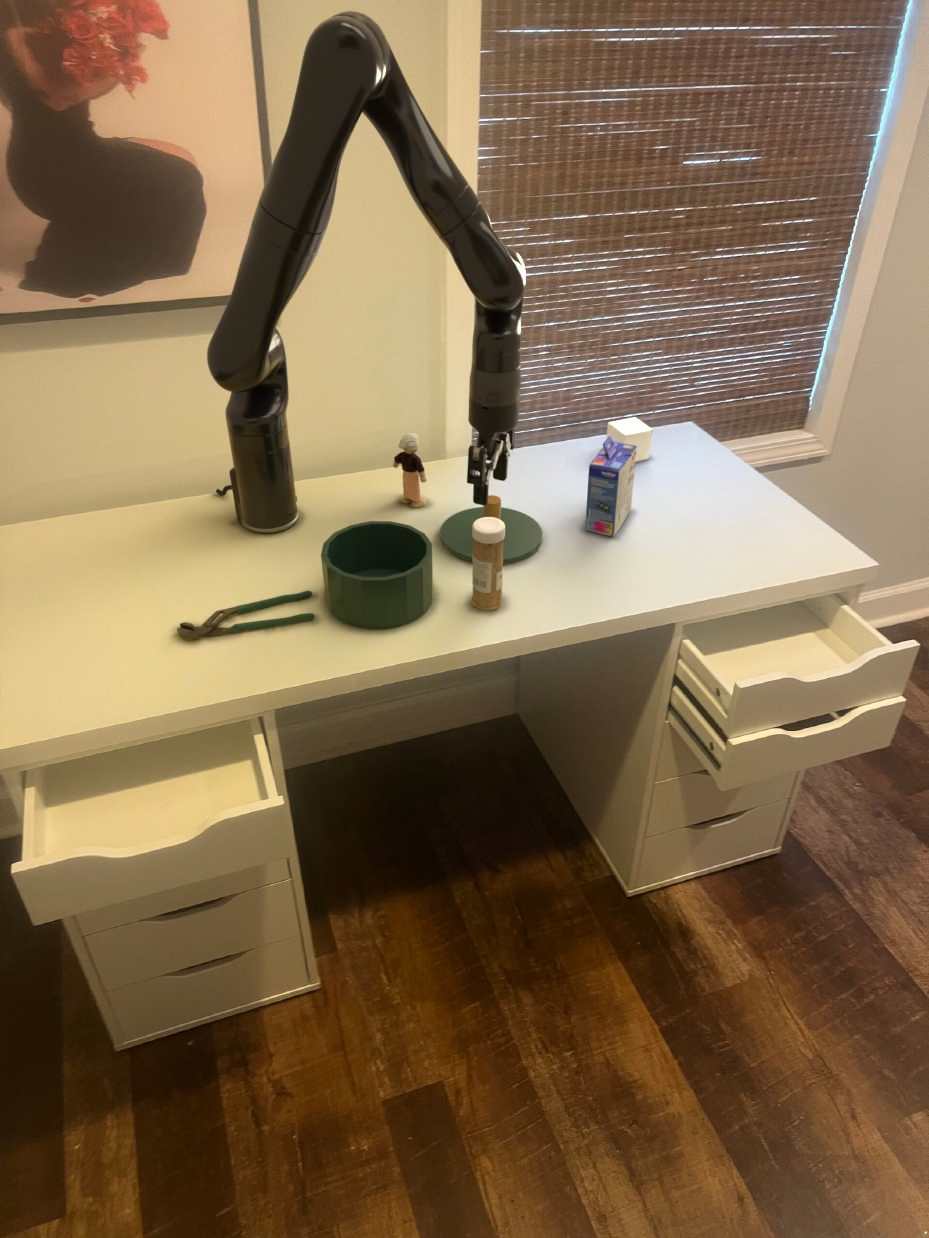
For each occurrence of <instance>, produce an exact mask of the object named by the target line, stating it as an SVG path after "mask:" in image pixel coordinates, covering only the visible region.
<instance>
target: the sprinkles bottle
mask: <svg viewBox="0 0 929 1238" xmlns="http://www.w3.org/2000/svg"><path fill="white" fill-rule="evenodd" d="M472 536H473V541H474V542H473V561H472V575H471V576H472V579H471V582H472V597H471V604H472V606H474V607H475V608H477V609H479V610H481V611H486V612H488V611H494V610H497V609H498V608H500V607H501V606H502V604H503V595H502V594H503V582H504V581H503V578H504V577H503V575H504V563H503V540H504V537H505V524H504V522H503V521H501V520H500V519H498V518H494V517H483V518H479V519H477V520H476V521H475V522H474V523H473V526H472Z"/></svg>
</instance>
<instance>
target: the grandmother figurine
mask: <svg viewBox="0 0 929 1238" xmlns="http://www.w3.org/2000/svg"><path fill="white" fill-rule="evenodd" d="M398 448H400V450H403V451H400V452H399V453H398V454H396V455H395V456H394V457H393V459H394V460H393V463H392V467H393V468H394V469H399V467H400V465H401V469H402V489H403V498H402V499H401V503H403V504H409V503H410V506H411V507H412V508H421V507H425V506H426V505H427V502H426V501H427V500H425V499H424V498H423V497H421V495H422V494H421V487H420V482H421V483H423V484H424V483H426V482H427V477H426V472H425V468H424V464H423V462H422V460H421V458H420V457H419V456H418V455H417V454H416V453H417V451H418V449H419V437H418V435H417V434H416V433H414V432H408V433H406V434H404V435H403V436H402V437H401V439H400V440H399V443H398Z"/></svg>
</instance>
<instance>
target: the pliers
mask: <svg viewBox="0 0 929 1238" xmlns="http://www.w3.org/2000/svg"><path fill="white" fill-rule="evenodd" d="M311 596H313V592H312V591H311V590H305V591H302V592H298V593H291V594H290V593H289V594H283V595H278V596H274V597H271V598H267V599H262V600H257V601H253V602H249V603H245V604H244V603H243V604H240V605H236V606H233V607H228V608H223V609H219V610H216V611H214V613H212V615H210V616H209V617H208V618H207V619H206V620H205V621H204V622H203V623H202V624H201V625H200V626H195V625H194V624H193V623H190V622H187V621H183V622H180V623H179V626H180V627H177V628H176V631H177V634H178V635H179V637H181V638H182V639H185V640H188V641H194V640H197V639H198V638H201V637H213V636H218V635H219V636H220V635H225V634H235V633H239V632H245V631H252V630H253V631H254V630H259V629H265V628H272V627H279V626H286V625H291V624H295V623H298V622H303V621H313V620H315V617H316V615H315V614H314V613H313V612H305V613H299V614H295V615H291V616H286V617H279V618H271V619H262V620H254V621H247V622H239V623H234V624H232V626H230V627H221V626H220V624H221V623H222V622H223V621H225V619H228V618H229V617H231V616H233V615H242V614H245V613H249V612H253V611H257V610H261V609H264V608H269V607H271V606H275V605H279V604H283V603H287V602H295V601H300V600H305V599H307V598H310V597H311ZM219 616H220V617H219Z"/></svg>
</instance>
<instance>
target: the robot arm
mask: <svg viewBox="0 0 929 1238" xmlns="http://www.w3.org/2000/svg"><path fill="white" fill-rule="evenodd" d="M386 37H387V36H386V35H385V33H384V31H383V30H382V28H381V26H380V25H379V24H378V23H377V21H375V20H374V19H373V18H372V17H370V16H368V15H367V14H365V13H363V12H360V11H356V10H355V11H354V10H353V11H352V10H346V11H341V12H339V13H336V14H334V15H332V16H330V17H329V18H327V19H325V20H323V21H321V22H320V23H319V24H318V25H317V26H316V27H315V28H314V29H313V30H312V32H311V33H310V35H309V37H308V39H307V42H306V44H305V48H304V51H303V55H302V60H301V64H300V70H299V73H298V74H299V75H298V79H297V85H296V90H295V94H294V98H293V103H292V107H291V111H290V115H289V120H288V123H287V127H286V130H285V132H284V135H283V138H282V139H281V143H280V145H279V147H278V149H277V152H276V154H275V157H274V159H273V161H272V164H271V167H270V169H269V172H268V175H267V177H266V180H265V183H264V185H263V188H262V191H261V193H260V195H259V199H258V202H257V205H256V208H255V211H254V215H253V218H252V221H251V223H250V228H249V232H248V236H247V239H246V242H245V245H244V249H243V251H242V255H241V259H240V262H239V265H238V269H237V272H236V276H235V281H234V284H233V288H232V290H231V293H230V296H229V298H228V301H227V304H226V306H225V308H224V310H223V312H222V314H221V317H220V319H219V321H218V323H217V326H216V328H215V330H214V332H213V334H212V336H211V338H210V340H209V342H208V346H207V351H206V361H207V362H206V364H207V367H208V370H209V373H210V375H211V377H212V379H213V380H214V381H215V383H216V384H217V385H219V387H220V388H222V389H223V390H225V391H227V392H230V396H229V399H228V402H227V404H226V407H225V412H224V415H225V423H226V428H227V434H228V440H229V447H230V452H231V458H232V468H230V470H229V473H228V474H229V478H230V480H229V481H230V484H229V485H225V486H224V487H223V488H222V490H221V489H220V488H217V489H216V490H215V493H216V494H218V495H220V496H225V495H226V494H227V493H228V491H229V490H231V491H232V498H233V503H234V509H235V517H236V521H237V523H239V524H242V526H243V527H244V528H245V529H247V530H248V531H251V532H254V533H259V534H273V533H279V532H282V531H285V530H287V529H291V528H292V527H293V526H295V524H297V523H298V521H299V518H300V514H299V510H298V497H297V493H296V485H295V476H294V469H293V468H294V467H293V460H292V452H291V451H292V450H291V443H290V436H289V425H288V418H287V410H288V405H289V399H290V392H289V391H290V390H289V377H288V376H289V375H288V364H287V363H288V362H287V355H286V354H287V353H286V348H285V344H284V341H283V338H282V335H281V333H280V332H279V330H278V329H277V326H278V323H279V320H280V319H281V316H282V315H283V313H284V311H285V309H286V308H287V306H288V305H289V303H290V301H291V300H292V298H293V297H294V295H295V294H296V292H297V290H298V289H299V288H300V286H301V284H302V282H303V281H304V279H305V278H306V277H307V274H308V272H309V271H310V269H311V267H312V266H313V263H314V261H315V259H316V257H317V256H318V253H319V250H320V247H321V244H322V242H323V239H324V238H325V237H324V236H325V234H326V231H327V229H328V227H329V222H330V220H331V216H332V212H333V208H334V204H335V199H336V193H337V186H338V178H339V172H340V167H341V163H342V160H343V156H344V153H345V150H346V148H347V146H348V143H349V141H350V139H351V136H352V134H353V132H354V130H355V128H356V126H357V123H358V121H359V119H360V118H361V116H362V115H364V116H365V118H367V120H368V121H369V122H370V123H371V125H372V126H373V127H374V129H375V131H376V132H377V133H378V135H379V136H380V138H381V139H382V141H383V142H384V145H385V146H386V147H387V150H388V151H389V153H390V155H391V156H392V159H393V162H394V163H395V166H396V168H397V170H398V172H399V174H400V176H401V178H402V180H403V182H404V185H405V187H406V189H407V191H408V193H409V195H410V197H411V198H412V200H413V202H414V203H415V205H416V207H417V209H418V210H419V212H420V213H421V214H422V216H423V218H424V219H425V221H426V222H427V223H428V225H429V226H430V228H431V229H432V231H433V232H434V234H435V235H436V236H437V237H438V239H439V240H440V241H441V243H442V244H443V245H444V247H445V248H446V249H447V251H448V252H449V254H450V256H451V257H452V260H453V262H454V264H455V266H456V268H457V269H458V271H459V273H460V275H461V277H462V279H463V280H464V282H465V284H466V286H467V288H468V289H469V291H470V292H471V294H472V295H473V297H474V298H475V320H474V321H475V323H474V326H473V327H474V328H473V334H472V343H471V368H470V374H469V382H468V383H469V385H468V386H469V387H468V423H469V425H470V426H471V427H472V428H473V429H475V430H476V432H477V433H478V435H476V439H475V443H474V445H469V447H468V453H467V471H466V484H469V485H473V486H472V487H473V488H472V489H473V490H472V494H473V495H472V502H473V503H474V504H475V505H480V506H483V505H486V504H487V503H488V496H489V489H490V486H489V485H490V483H489V482H490V479H491V478H490V477H491V474H492V478H493V479H494V480H495V481H496V480H497V481H502V482H505V481H506V480H507V479H508V471H509V469H508V468H509V459H510V457H511V455H512V454H511V451H513V450H514V449H515V444H516V443H515V442H516V427H517V426H518V425H519V422H520V421H519V420H520V405H521V392H522V391H521V389H522V388H521V387H522V374H521V363H522V362H521V361H522V349H523V346H522V343H523V335H522V316H523V315H522V313H523V307H524V298H525V291H526V280H527V269H526V264H525V261H524V260H523V257H522V255H520V253H519V252H518V251H517V250H515V249H514V248H512V247H510V246H508V245H504V244H503V242H502V241H501V240H500V237H499V236H498V235H497V233H496V232H495V230H494V228H493V226H492V222H491V217H490V216H489V213H488V211H487V209H486V208H485V206H484V205H483V203H482V202H481V200H480V198H479V197H478V196H477V194H476V192H475V190H474V189H473V188H472V187H471V185H470V183H469V181H467V179H466V177H465V176H464V174H463V173H462V171H461V170H460V169H459V167H458V165H457V164H456V162H454V160H453V158H452V156H450V154H449V152H448V151H447V150H446V147H445V146H444V145H443V143H442V142H441V140H440V138H439V137H438V135H437V133H436V132H435V131H434V129H433V127H432V126H431V124H430V122H429V120H428V119H427V117H426V115H425V113H424V112H423V109H421V106H420V105H419V103H418V101H417V99H416V97H415V95H414V94H413V92H412V89H411V87H410V86H409V84H408V81H407V80H406V77H405V75H404V74H403V71H402V69H401V67H400V65H399V62H398V61H397V59H396V58H397V57H396V56H395V54H394V51H393V49H392V47H391V46H390V43H389V41H388V39H387V38H386ZM487 461H488V462H487Z"/></svg>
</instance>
